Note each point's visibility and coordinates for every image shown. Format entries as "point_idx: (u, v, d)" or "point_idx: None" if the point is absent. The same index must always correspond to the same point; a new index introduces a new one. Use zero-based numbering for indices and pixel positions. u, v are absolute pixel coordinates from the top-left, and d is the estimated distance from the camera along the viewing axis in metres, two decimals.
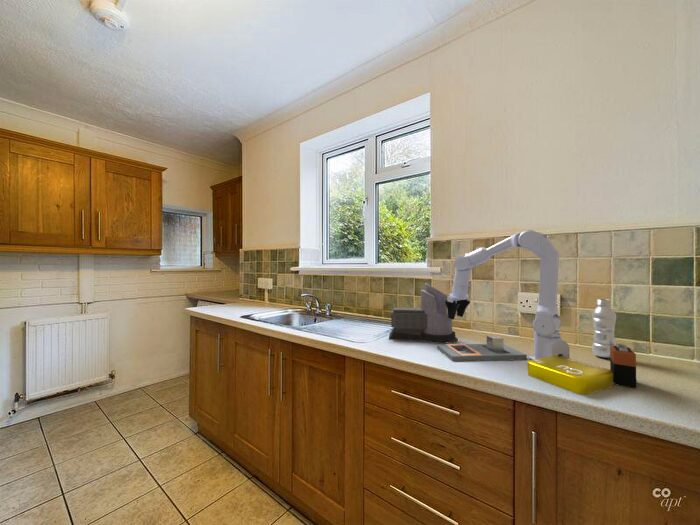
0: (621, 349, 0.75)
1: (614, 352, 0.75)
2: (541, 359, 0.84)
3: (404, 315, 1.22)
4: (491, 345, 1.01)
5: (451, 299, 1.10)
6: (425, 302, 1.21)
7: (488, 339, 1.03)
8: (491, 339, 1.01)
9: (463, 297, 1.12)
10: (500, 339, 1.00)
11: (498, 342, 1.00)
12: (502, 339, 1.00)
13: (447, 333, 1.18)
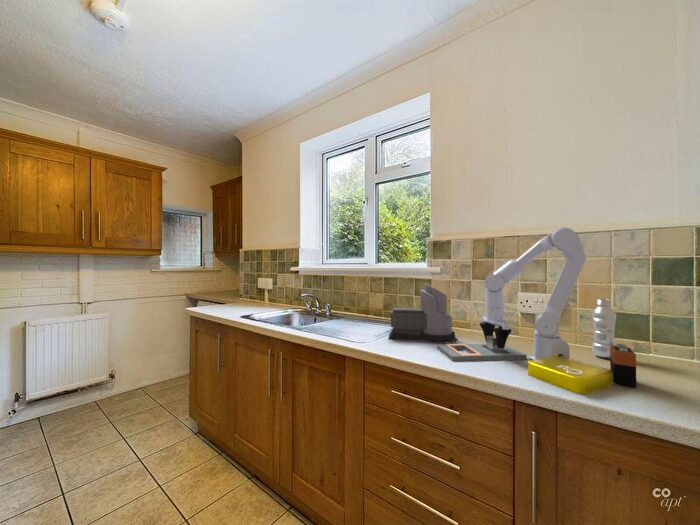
0: (621, 349, 0.75)
1: (614, 352, 0.75)
2: (541, 359, 0.84)
3: (404, 315, 1.22)
4: (491, 345, 1.01)
5: (508, 326, 0.95)
6: (424, 303, 1.21)
7: (488, 339, 1.03)
8: (491, 339, 1.01)
9: (503, 320, 1.01)
10: None
11: None
12: None
13: (446, 333, 1.18)
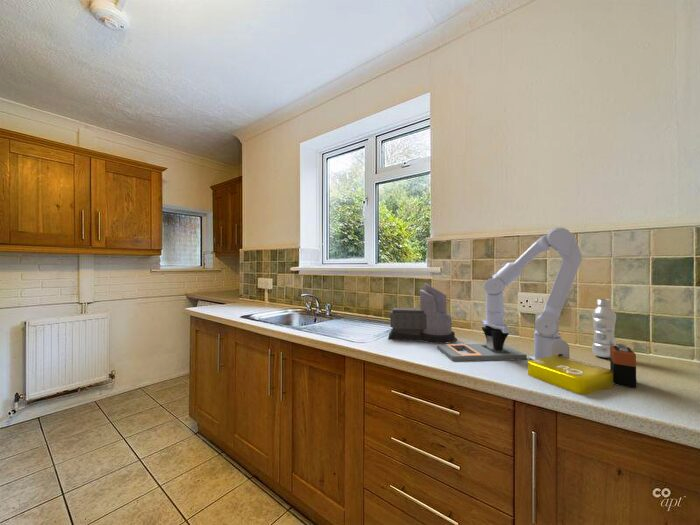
0: (621, 349, 0.75)
1: (614, 352, 0.75)
2: (541, 359, 0.84)
3: (404, 315, 1.22)
4: (491, 345, 1.01)
5: (508, 329, 0.95)
6: (424, 303, 1.21)
7: (488, 339, 1.03)
8: (491, 339, 1.01)
9: (503, 323, 1.01)
10: None
11: None
12: None
13: (446, 333, 1.18)
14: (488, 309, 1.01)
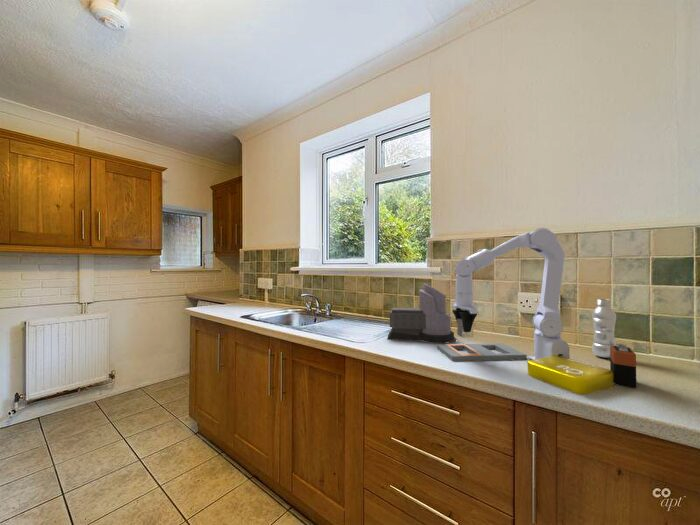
0: (621, 349, 0.75)
1: (614, 352, 0.75)
2: (541, 359, 0.84)
3: (403, 315, 1.22)
4: (461, 327, 1.00)
5: (475, 310, 0.94)
6: (423, 302, 1.21)
7: (458, 322, 1.02)
8: (461, 321, 1.00)
9: (472, 305, 1.00)
10: None
11: None
12: None
13: (445, 333, 1.18)
14: (459, 291, 1.00)
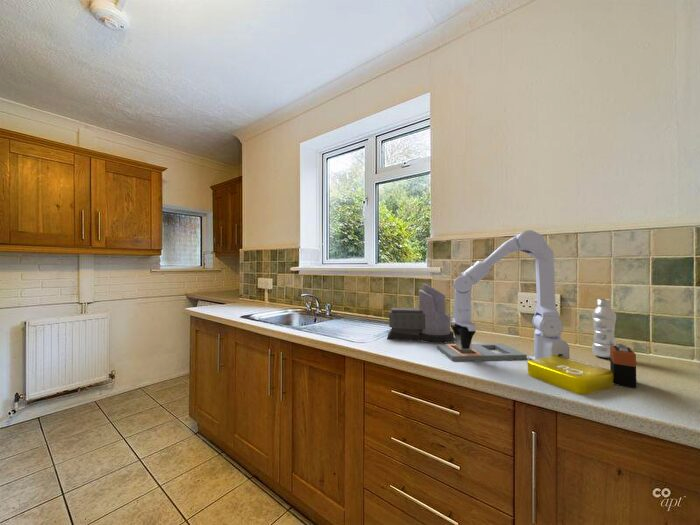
0: (621, 349, 0.75)
1: (614, 352, 0.75)
2: (541, 359, 0.84)
3: (402, 315, 1.22)
4: (459, 344, 1.00)
5: (474, 327, 0.94)
6: (423, 303, 1.21)
7: (457, 338, 1.02)
8: (459, 338, 1.00)
9: None
10: None
11: None
12: None
13: (445, 333, 1.18)
14: (458, 307, 1.00)
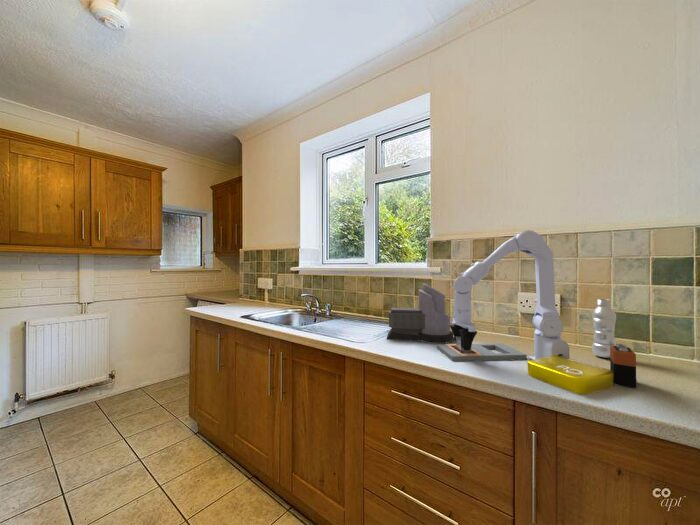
0: (621, 349, 0.75)
1: (614, 352, 0.75)
2: (541, 359, 0.83)
3: (402, 315, 1.22)
4: (459, 346, 1.00)
5: (474, 328, 0.94)
6: (422, 302, 1.21)
7: (457, 340, 1.02)
8: (459, 340, 1.00)
9: (471, 322, 1.00)
10: None
11: None
12: None
13: (444, 333, 1.18)
14: (458, 308, 1.00)
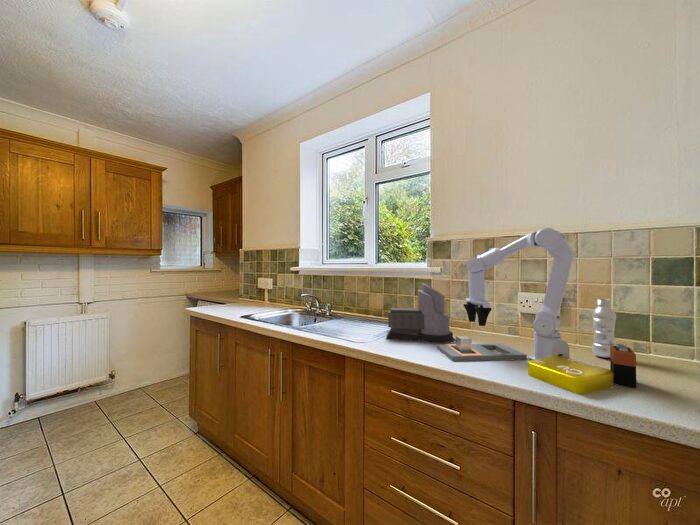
0: (621, 349, 0.75)
1: (614, 352, 0.75)
2: (541, 359, 0.83)
3: (401, 315, 1.22)
4: (459, 346, 1.00)
5: (488, 304, 1.02)
6: (422, 303, 1.21)
7: (457, 340, 1.02)
8: (459, 340, 1.00)
9: None
10: (468, 340, 1.00)
11: (466, 342, 1.00)
12: (470, 340, 1.00)
13: (444, 333, 1.18)
14: (470, 286, 1.09)
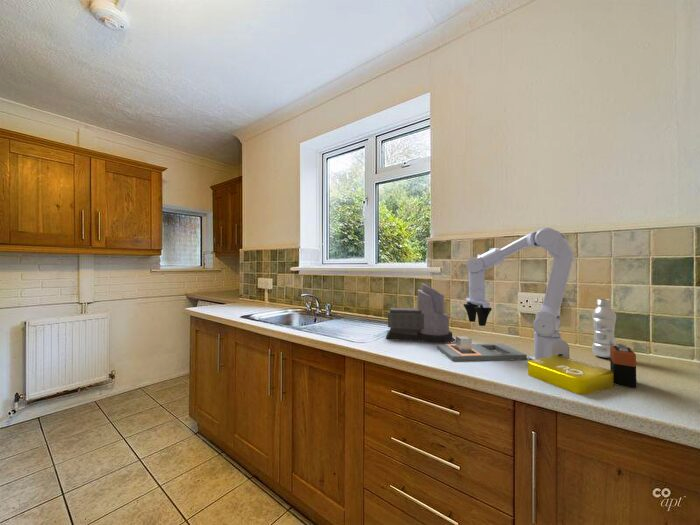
0: (621, 349, 0.75)
1: (614, 352, 0.75)
2: (541, 359, 0.83)
3: (401, 315, 1.22)
4: (459, 346, 1.00)
5: (488, 304, 1.02)
6: (421, 303, 1.21)
7: (457, 340, 1.02)
8: (459, 340, 1.00)
9: (485, 300, 1.08)
10: (468, 340, 1.00)
11: (466, 342, 1.00)
12: (470, 340, 1.00)
13: (443, 333, 1.18)
14: (470, 286, 1.09)
